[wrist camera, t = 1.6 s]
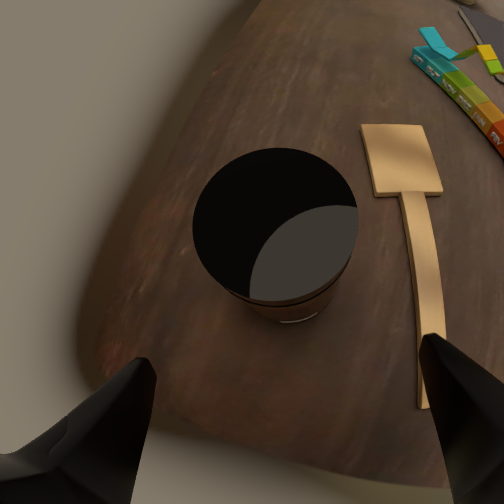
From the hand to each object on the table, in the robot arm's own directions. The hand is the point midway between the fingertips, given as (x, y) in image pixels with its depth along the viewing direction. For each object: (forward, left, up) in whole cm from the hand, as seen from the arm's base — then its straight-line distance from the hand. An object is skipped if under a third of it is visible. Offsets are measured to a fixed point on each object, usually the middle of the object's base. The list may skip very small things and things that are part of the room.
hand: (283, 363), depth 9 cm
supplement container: (+6, 0, -12) cm, 13 cm away
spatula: (+7, -10, -12) cm, 17 cm away
